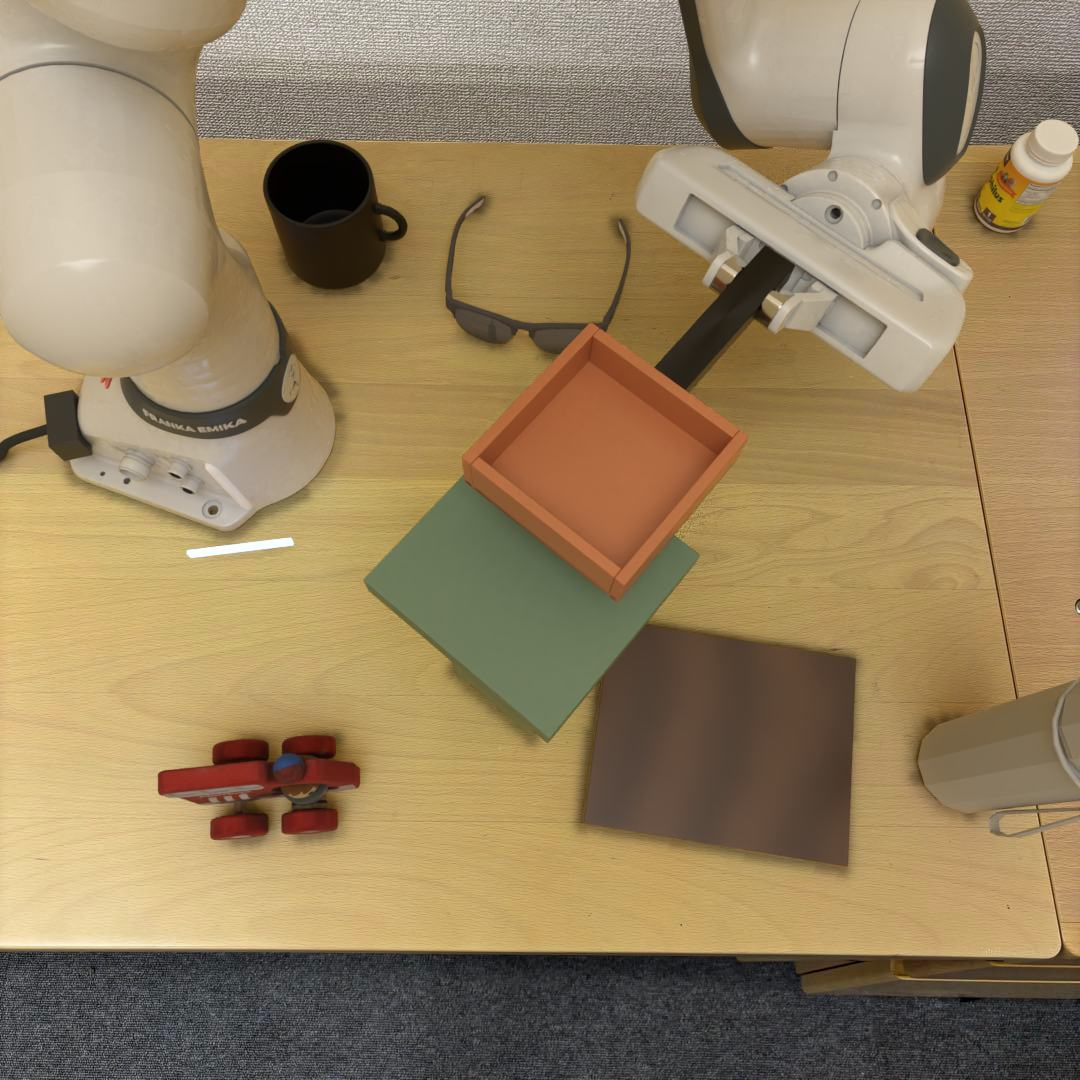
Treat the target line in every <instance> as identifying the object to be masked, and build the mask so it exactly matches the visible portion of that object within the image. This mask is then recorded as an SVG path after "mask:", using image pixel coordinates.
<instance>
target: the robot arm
mask: <svg viewBox="0 0 1080 1080" xmlns="http://www.w3.org/2000/svg"><path fill="white" fill-rule="evenodd" d="M677 2H678V7H679V12H680V17H681V20H682V25H683V30H684V35H685V38H686V44H687V49H688V63H689V64H688V65H689V68H688V69H689V87H690V89H689V90H690V98H691V105H692V108H693V112H694V115H695V117H696V118H697V119H698V120H697V121H698V122H699V123H700V125H701V126H702V128H703V129H704V130H705V132H706V133H707V134H708V135H709V137H710V138H711V139H712V140H713V141H714V142H715V143H716V144H717V145H718V146H719V147H721V148H722V149H721V148H718V147H716V146H712V145H708V144H688V145H687V144H686V145H679V146H672V147H668V148H663V149H660V150H658V151H656V152H655V153H654V154H653V155H652V156H651V158H650V160H649V161H648V163H647V165H646V166H645V169H644V171H643V173H642V175H641V177H640V179H639V182H638V184H637V186H636V189H635V192H634V195H633V203H634V208H635V211H636V213H637V214H638V215H640V216H641V217H642V218H643V219H645V220H646V221H647V222H649V223H650V224H653V225H654V226H655V227H657V228H658V229H659V230H661V231H663V232H664V233H665V234H667V235H668V236H670V237H671V238H672V239H674V240H675V241H677V243H678V242H679V243H680V244H681V245H682V246H683V247H685V248H687V249H688V250H690V251H691V252H693V253H694V254H696V255H697V256H699V257H700V258H701V259H702V260H704V261H706V262H707V263H708V269H707V271H706V273H705V275H704V276H703V278H702V281H701V284H702V285H703V286H704V287H706V288H707V289H709V290H711V291H712V292H713V293H715V294H717V295H718V296H719V295H720V294H721V293H722V292H723V291H724V290H725V289H726V288H727V286H728V285H729V284H730V283H731V282H732V281H733V280H734V279H735V278H736V277H737V276H738V275H739V274H740V272H741V271H742V270H743V269H744V268H745V267H746V265H747V264H748V263H749V262H750V261H751V260H752V259H753V258H754V257H755V256H756V254H757V253H758V252H759V251H760V250H761V249H762V248H763V247H764V246H765V245H766V246H768V247H769V248H771V249H772V250H774V251H775V252H777V253H778V254H779V255H781V256H782V257H784V258H785V259H787V260H788V261H790V262H791V263H793V264H794V265H795V268H794V270H793V272H792V274H791V276H790V278H789V280H788V282H787V283H786V284H785V285H784V286H783V287H782V286H781V285H780V286H778V287H777V288H775V290H772V291H771V292H770V293H769V294H768V295H767V296H766V298H765V299H764V301H763V302H762V304H761V309H759V310H758V311H757V313H756V314H755V316H754V318H753V319H754V320H753V321H755V322H757V323H758V324H759V325H761V327H763V328H765V330H768V331H769V332H770V333H772V334H773V335H777V334H778V333H780V331H781V330H783V329H784V328H785V329H789V330H797V331H804V332H809V333H810V334H811V335H813V336H814V337H815V338H817V339H818V340H820V341H822V342H823V343H824V344H826V345H827V346H829V347H830V348H832V349H833V350H835V351H836V352H837V353H839V354H840V355H842V356H843V357H845V358H846V359H847V360H849V361H850V362H852V363H853V364H855V365H856V366H857V367H858V368H860V369H862V370H863V371H864V372H867V373H868V374H869V375H871V376H872V377H873V378H875V379H877V380H878V381H879V382H881V383H882V384H883V385H885V386H887V387H888V388H889V389H891V390H892V391H895V392H896V393H901V394H907V395H908V394H909V395H913V394H915V393H916V392H917V391H918V390H919V389H920V388H921V387H922V386H923V385H924V383H926V381H927V380H928V379H929V377H930V376H931V375H932V374H933V373H934V372H935V370H936V369H937V368H938V367H939V365H940V364H941V363H942V362H943V360H944V359H945V357H947V355H948V354H949V353H950V351H951V349H952V348H953V347H954V345H955V343H956V341H957V340H958V338H959V336H960V333H961V331H962V328H963V325H964V323H965V318H966V314H967V305H966V301H965V298H964V296H963V295H964V294H965V292H966V290H967V289H968V287H969V285H970V284H971V282H972V280H973V279H974V276H975V275H974V271H973V270H972V268H971V266H970V265H969V264H967V263H966V262H965V261H964V260H963V259H961V257H960V256H959V255H958V254H957V253H955V251H953V249H951V248H950V247H949V246H948V245H946V244H945V243H944V241H942V240H941V239H940V238H939V237H938V236H937V235H936V234H934V232H932V231H933V230H934V227H935V225H936V223H937V221H938V218H939V217H940V214H941V211H942V208H943V204H944V200H945V196H946V195H945V194H946V189H947V174H948V173H949V172H950V171H951V170H952V169H953V168H954V167H955V165H956V164H957V163H958V162H959V161H960V160H961V159H962V158H963V156H964V155H965V154H966V152H967V150H968V148H969V145H970V143H971V140H972V137H973V135H974V131H975V128H976V124H977V121H978V117H979V113H980V110H981V104H982V100H983V95H984V89H985V82H986V73H987V72H986V71H987V43H986V37H985V32H984V30H983V28H982V25H981V23H980V21H979V19H978V16H977V15H976V13H975V11H974V10H973V8H972V6H971V4H970V2H969V1H968V0H677ZM247 5H248V0H0V319H1V321H2V324H3V326H4V329H5V330H6V332H7V333H8V335H9V336H10V337H11V339H12V340H13V341H15V342H16V344H18V345H19V346H20V347H21V348H23V349H24V350H26V351H27V352H28V353H30V354H32V355H33V356H35V357H36V358H37V359H40V360H42V361H43V362H46V363H48V364H50V365H52V366H54V367H57V368H59V369H61V370H65V371H68V372H70V373H73V374H78V375H83V376H84V377H83V380H82V383H81V386H80V391H79V394H77V392H76V391H75V390H73V389H69V390H64V391H59V392H55V393H54V392H53V393H48V394H44V395H43V402H44V416H45V424H42V425H39V426H36V427H32V428H30V429H25V430H23V431H20V432H17V433H15V434H13V435H10V436H8V437H6V438H4V439H3V440H1V441H0V462H1V461H3V460H5V459H6V458H7V456H8V454H9V451H10V450H11V449H12V448H14V447H16V446H18V445H21V444H23V443H25V442H28V441H31V440H36V439H38V438H41V437H44V436H47V444H48V445H47V446H48V448H49V449H50V450H51V451H52V452H53V453H54V454H55V455H57V457H59V458H60V459H61V460H62V461H64V462H68V461H69V464H70V466H71V470H72V472H73V473H74V475H75V476H76V477H77V478H78V479H80V480H82V481H83V482H87V483H89V484H91V485H94V486H97V487H100V488H103V489H104V490H108V491H111V492H113V493H116V494H119V495H122V496H124V497H127V498H129V499H133V500H135V501H138V502H141V503H144V504H147V505H149V506H152V507H154V508H157V509H159V510H163V511H166V512H168V513H171V514H173V515H176V516H179V517H181V518H185V519H187V520H191V521H193V522H195V523H198V524H201V525H204V526H207V527H209V528H211V529H214V530H218V531H221V532H225V533H226V532H232V531H235V530H237V529H239V528H240V527H241V526H243V525H244V524H245V523H247V521H248V520H250V519H251V518H252V517H253V516H254V515H255V514H256V513H257V512H259V510H262V509H264V508H265V507H268V506H270V505H273V504H276V503H279V502H280V501H283V500H285V499H287V498H290V497H291V496H293V495H294V494H296V493H297V492H299V491H300V490H302V489H303V488H305V487H306V486H307V485H308V484H310V483H311V482H312V481H313V479H315V477H316V476H317V475H318V474H319V473H320V471H321V470H322V469H323V467H324V465H325V464H326V462H327V460H328V459H329V457H330V454H331V451H332V449H333V446H334V443H335V439H336V428H337V427H336V426H337V425H336V424H337V423H336V415H335V410H334V407H333V404H332V402H331V398H330V397H329V395H328V393H327V391H326V390H325V389H324V387H323V386H322V385H321V384H320V383H319V381H317V379H316V378H315V377H313V376H312V375H311V374H310V372H309V371H308V369H306V367H305V366H304V365H303V364H302V363H301V361H300V360H299V358H298V356H297V354H296V350H295V348H294V345H293V342H292V340H291V337H290V335H289V332H288V330H287V327H286V326H285V324H284V322H283V320H282V318H281V316H280V314H279V312H278V310H277V309H276V307H275V306H274V305H273V304H272V302H270V301H271V300H269V299H267V296H266V294H265V292H264V289H263V287H262V284H261V282H260V279H259V277H258V275H257V272H256V270H255V268H254V266H253V263H252V260H251V259H250V256H249V253H248V252H247V250H246V248H245V247H244V246H243V244H242V243H241V242H240V241H239V240H238V239H237V238H236V237H235V236H234V235H233V234H231V233H230V232H229V231H227V230H226V229H225V228H223V227H221V226H220V225H218V224H217V221H216V218H215V213H214V210H213V207H212V202H211V198H210V193H209V189H208V185H207V180H206V176H205V171H204V166H203V162H202V157H201V148H200V139H199V132H198V121H197V120H198V118H197V101H196V100H197V99H196V90H197V89H196V88H197V87H196V85H197V72H198V65H199V61H200V58H201V57H200V56H201V54H202V51H203V49H204V47H205V45H208V44H210V43H211V44H212V43H213V42H215V41H217V40H219V39H220V38H222V37H223V36H225V35H227V33H229V32H230V31H231V29H233V27H235V26H236V24H237V23H238V22H239V21H240V19H241V17H242V15H243V14H244V12H245V10H246V7H247ZM774 148H779V149H795V150H796V149H797V150H815V151H817V150H818V151H830V152H829V154H828V156H827V157H826V158H825V159H824V160H823V161H821V162H819V163H817V164H814V166H812V167H809V168H808V169H805V170H803V171H802V172H800V173H797V174H795V175H793V176H792V177H789V178H788V179H787V180H785V181H784V182H782V183H781V184H780V185H779V184H777V183H775V182H774V181H772V180H770V179H769V178H768V177H766V176H764V175H763V174H761V173H760V172H758V171H757V170H755V168H752V167H751V166H749V165H747V163H745V162H743V160H740V159H739V158H737V157H735V156H734V155H732V154H730V153H729V152H727V151H744V150H746V151H747V150H768V149H774ZM723 149H724V150H723ZM725 150H727V151H725ZM215 509H216V510H217V512H216V513H215V514H211V512H212V511H213V510H215ZM289 546H294V541H293V538H292V537H285V538H277V539H269V540H261V541H251V542H244V543H236V544H228V545H227V544H226V545H221V546H220V545H219V546H212V547H205V548H203V547H202V548H196V549H188V550H186V555H187V556H188V557H189V558H191V559H193V558H200V557H207V556H208V557H209V556H217V555H226V554H234V553H242V552H249V551H258V550H265V549H266V550H267V549H274V548H282V547H289Z"/></svg>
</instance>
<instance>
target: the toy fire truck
mask: <svg viewBox="0 0 1080 1080" xmlns="http://www.w3.org/2000/svg"><path fill="white" fill-rule="evenodd" d="M211 751H212V757H211V761H212V762H211V763H212V765H203V766H202V765H201V766H194V767H183V768H174V769H173V768H172V769H164V770H161V771H159V772H158V773H157V793H158V795H159V796H161V797H164V798H169V799H181V800H185V801H187V802H190V803H194V804H196V805H199V806H210V805H223V804H233V810H232V811H233V812H232V813H233V814H228V815H220V816H216V817H214V818H212V819H211V820H210V822H209V827H210V829H209V836H210V839H211V840H213V841H230V840H241V839H242V840H243V839H249V838H257V837H263V836H266V835H267V834H269V829H270V827H269V826H270V825H269V824H270V823H269V822H270V821H269V814H268V813H265V812H247V811H248V810H247V809H248V808H247V807H248V805H247V804H248V802H250V801H260V800H269V799H277V798H278V799H279V798H286V799H287V800H288V801H289V802H291V809H292V810H291V811H288V812H287V811H286V812H284V813H282V814H281V819H280V821H281V826H280V827H281V828H280V829H281V833H282V834H283V835H287V836H288V835H289V836H290V835H292V836H293V835H294V836H295V835H311V834H319V833H328V832H334V831H336V830H337V829H338V827H339V812H338V810H337V809H336V808H332V807H329V808H328V806H327V805H328V803H329V802H328V799H327V795H326V793H334V792H342V791H351V790H357V789H358V788H359V787H360V785H361V768H360V766H358V765H357V764H356V763H354V761H353V762H352V761H344V760H337V759H333V758H335V757H336V755H337V740H336V738H335V737H334V736H332V735H326V734H305V735H304V734H303V735H295V736H291V737H288V738H285V739H284V740H283V741H282V742H281V755H280V756H278V757H277V758H276V760H275V761H269V759H270V743H269V742H268V741H266V740H264V739H258V738H239V739H232V740H231V739H230V740H224V741H220V742H217V743H215V744H214V745H213V746H212V750H211Z"/></svg>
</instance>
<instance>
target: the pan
mask: <svg viewBox="0 0 1080 1080" xmlns="http://www.w3.org/2000/svg"><path fill="white" fill-rule="evenodd" d="M794 268H795V265H794V264H793V263H791V262H790V261H788V260H787V259H785V258H784V257H782V256H781V255H779V254H778V253H777V252H775V251H774V250H772V249H771V248H769V247H768V246H766V245H765V246H764V247H763V248H762V249H761V250H760V251H759V252H758V253H757V254H756V256H755V257H754V258H753V259H752V260H751V261H750V262H749V263H748V264H747V265H746V267H745V268H744V269H743V270H742V271H741V272H740V274H739V275H738V276H737V277H736V278H735V279H734V280H733V281H732V282H731V283H730V284H729V285H728V286H727V288H726V289H725V290H724V291H723V292H722V293H721V294H720V295H718V296H717V297H716V299H714V301H713V302H712V303H711V304H709V306H708V307H707V308H706V309H705V311H704V312H703V313H701V315H700V316H698V318H697V319H696V321H694V322H693V324H692V325H691V326H690V327H689V328H688V329H687V330H686V331H685V332H684V334H683V335H681V337H680V338H679V339H678V340H677V342H676V343H675V344H674V345H673V346H672V347H671V348H670V349H669V350H668V351H667V352H666V353H665V354H664V355H663V357H661V359H660V360H659V361H658V362H657V363H656V364H655V365H654V366H652V364H650V363H648V362H647V361H646V360H645V359H643V358H642V357H640V356H639V355H637V354H636V353H635V352H633V350H630V349H629V348H628V347H626V346H625V345H623V344H622V343H621V342H619V341H618V340H617V339H615V338H614V337H612V335H610V334H608V333H607V332H604V331H603V330H601V329H599V328H598V327H597V326H596V325H594V324H593V323H594V322H588V323H589V324H588V325H587V326H586V327H585V329H584V330H583V331H582V332H581V333H580V334H579V335H578V336H577V337H576V338H575V339H574V340H573V341H572V342H571V343H570V344H569V345H568V346H567V347H566V348H565V349H564V350H563V352H562V353H561V354H558V356H557V357H556V358H555V359H554V360H553V361H551V363H550V364H549V365H548V366H547V367H546V368H545V369H544V370H543V371H542V372H541V373H540V374H539V376H537V378H535V380H534V381H532V383H531V384H530V385H529V386H528V387H527V388H526V389H525V390H524V391H523V393H521V394H520V395H519V396H518V397H517V398H516V399H515V400H514V401H513V402H512V404H511V405H510V406H509V407H508V408H507V409H506V410H505V411H504V412H503V413H502V414H501V415H500V416H499V417H498V418H497V420H495V422H493V424H491V426H490V427H489V428H488V429H487V430H486V431H484V433H483V434H482V435H481V436H480V437H479V438H478V439H477V440H476V441H475V443H473V445H472V446H470V448H469V449H468V450H466V452H465V453H464V454H463V455H462V456H461V464H462V472H463V475H464V480H465V482H466V483H467V484H468V485H470V486H471V487H472V488H473V489H475V490H476V491H477V492H478V493H480V494H481V495H482V496H483V497H485V498H486V499H487V500H488V501H490V502H491V503H492V504H493V505H495V506H496V507H497V508H498V509H500V510H501V511H502V512H504V513H505V514H506V515H507V516H509V517H510V518H511V519H512V520H514V521H515V522H516V523H517V524H519V525H520V526H521V527H522V528H524V529H525V530H526V531H527V532H529V533H530V534H531V535H532V536H534V537H535V538H536V539H538V540H539V541H540V542H541V543H543V544H544V545H545V546H546V547H548V548H549V549H550V550H551V551H553V552H554V553H555V554H556V555H558V556H559V557H560V558H561V559H563V560H564V561H565V562H566V563H568V564H569V565H570V566H572V567H573V568H574V569H575V570H577V571H578V572H579V573H580V574H582V575H583V576H584V577H585V578H587V579H588V580H589V581H590V582H592V583H593V584H594V585H595V586H597V587H598V588H599V589H600V590H602V591H603V592H604V593H606V594H607V595H608V596H609V597H611V598H612V599H613V600H614V601H616V602H617V603H618V602H619V601H620V600H621V599H622V597H623V596H624V595H625V594H626V593H627V591H628V590H629V589H630V588H631V587H632V585H633V584H634V583H635V582H636V581H637V579H638V578H639V577H640V576H641V575H642V573H643V572H644V571H645V570H646V569H647V567H648V566H649V565H650V564H651V563H652V561H653V560H654V559H655V558H656V557H657V555H658V554H659V553H660V552H661V551H662V549H663V548H664V547H665V546H666V545H667V543H668V542H669V541H670V540H671V539H672V538H673V536H674V535H675V536H676V534H677V533H678V531H679V530H680V529H681V528H682V527H683V526H684V525H685V523H687V522H688V520H689V519H690V518H691V516H692V515H693V514H694V512H695V511H697V509H698V508H699V507H700V505H701V504H702V503H703V502H704V501H705V500H706V498H707V497H708V496H709V495H710V493H711V492H712V491H713V490H714V489H715V487H716V486H717V485H718V484H719V483H720V481H721V480H722V479H723V478H724V477H725V475H726V474H728V472H729V471H730V470H731V468H732V467H733V466H734V465H735V463H736V462H737V460H738V459H739V458H740V457H739V456H740V455H741V453H742V452H743V449H744V447H745V446H746V444H747V443H748V440H749V439H750V435H748V434H747V433H745V432H744V431H743V430H741V429H740V428H738V427H737V426H736V425H734V424H733V423H732V422H730V421H729V420H728V419H726V418H724V417H723V416H722V415H721V414H719V413H718V412H716V411H715V410H714V409H712V408H711V407H710V406H708V405H707V404H705V403H704V402H702V401H701V400H699V399H698V398H697V397H696V396H694V395H693V394H692V393H691V392H692V391H693V390H694V388H695V387H697V385H698V384H699V383H700V382H701V380H703V378H704V377H705V376H706V375H707V374H708V373H709V371H711V370H712V368H713V367H714V366H715V365H716V364H717V363H718V361H720V359H721V358H722V357H723V356H724V355H725V353H726V352H727V351H728V350H729V349H730V348H731V346H732V345H733V344H734V343H735V342H736V341H737V340H738V338H739V337H740V336H741V335H742V334H743V333H744V332H745V331H746V330H747V328H748V327H749V326H750V325H751V324H752V323H753V321H755V320H754V319H753V318H754V316H755V314H756V313H757V311H758V310H759V309H761V304H762V302H763V301H764V299H765V298H766V296H767V295H768V294H769V293H770V292H771V291H772V290H775V288H777V287H778V286H780V285H781V286H782V287H783V286H784V285H785V284H786V283H787V282H788V280H789V278H790V276H791V274H792V272H793V270H794Z"/></svg>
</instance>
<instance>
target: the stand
mask: <svg viewBox="0 0 1080 1080" xmlns="http://www.w3.org/2000/svg"><path fill="white" fill-rule="evenodd" d="M700 557H701V554H700V553H699V552H698V551H696V550H695V549H694V548H692V547H691V546H690V545H688V544H687V543H686V542H685V541H683V540H682V539H681V538H679V536H677V535H676V534H675V535H674V536H673V538H672V539H671V540H670V541H669V542H668V543H667V545H666V546H665V547H664V548H663V549H662V551H661V552H660V553H659V554H658V555H657V557H656V558H655V559H654V560H653V561H652V563H651V564H650V565H649V566H648V567H647V569H646V570H645V571H644V572H643V573H642V575H641V576H640V577H639V578H638V579H637V581H636V582H635V583H634V584H633V585H632V587H631V588H630V589H629V590H628V591H627V593H626V594H625V595H624V596H623V597H622V599H621V600H620V601H619V602H618V603H617V602H616V601H614V600H613V599H612V598H611V597H609V596H608V595H607V594H606V593H604V592H603V591H602V590H600V589H599V588H598V587H597V586H595V585H594V584H593V583H592V582H590V581H589V580H588V579H587V578H585V577H584V576H583V575H582V574H580V573H579V572H578V571H577V570H575V569H574V568H573V567H572V566H570V565H569V564H568V563H566V562H565V561H564V560H563V559H561V558H560V557H559V556H558V555H556V554H555V553H554V552H553V551H551V550H550V549H549V548H548V547H546V546H545V545H544V544H543V543H541V542H540V541H539V540H538V539H536V538H535V537H534V536H532V535H531V534H530V533H529V532H527V531H526V530H525V529H524V528H522V527H521V526H520V525H519V524H517V523H516V522H515V521H514V520H512V519H511V518H510V517H509V516H507V515H506V514H505V513H504V512H502V511H501V510H500V509H498V508H497V507H496V506H495V505H493V504H492V503H491V502H490V501H488V500H487V499H486V498H485V497H483V496H482V495H481V494H480V493H478V492H477V491H476V490H475V489H473V488H472V487H471V486H470V485H468V484H467V483H466V482H465V480H464V474H463V475H461V477H460V478H459V479H458V480H456V482H455V483H454V484H453V485H452V486H451V487H450V488H449V489H448V490H447V491H446V492H445V493H444V494H443V496H442V497H440V499H439V500H438V501H436V503H434V505H433V506H432V507H431V508H430V509H429V510H428V511H427V512H426V513H425V514H424V515H423V517H421V519H420V520H419V521H418V522H417V523H416V524H415V525H414V526H413V527H412V528H411V529H410V530H409V531H408V532H407V533H406V534H405V535H404V536H403V537H402V538H401V539H400V541H398V542H397V543H396V545H395V546H394V547H393V548H392V549H391V550H390V551H389V552H388V553H387V554H386V555H385V556H384V557H383V558H382V559H381V560H380V562H378V563H377V565H376V566H375V567H374V568H373V569H372V570H371V571H370V572H369V573H368V574H367V575H365V577H364V578H363V582H364V585H365V587H366V589H367V590H368V592H369V593H371V594H372V595H373V596H374V597H375V598H376V599H378V601H380V602H381V603H382V604H383V605H384V606H386V607H387V608H388V609H389V610H390V611H392V613H394V615H396V616H397V617H399V618H400V619H401V620H402V621H403V622H405V624H406V625H408V626H409V627H410V628H411V629H412V630H414V632H416V633H418V635H420V636H421V637H422V638H423V639H424V640H426V641H427V642H428V643H429V644H430V645H431V646H433V647H434V648H435V649H436V650H437V651H439V652H440V653H441V654H442V655H443V656H444V657H446V658H447V659H448V660H449V661H450V662H451V663H452V666H453V670H454V672H455V674H457V675H458V676H459V677H460V678H461V679H463V680H464V681H465V682H466V683H467V684H468V685H470V686H471V687H472V688H473V689H474V690H475V691H477V692H478V693H479V694H480V695H482V697H484V698H485V699H486V700H487V701H488V702H490V704H492V705H493V706H494V707H495V708H497V709H498V711H500V712H501V713H502V714H504V715H505V716H506V717H507V718H508V719H509V720H510V721H512V722H513V724H515V725H516V726H517V727H518V728H520V729H521V730H522V731H523V732H525V733H526V734H527V735H528V736H529V737H531V736H532V735H533V734H536V736H538V737H539V738H541V739H542V740H543V742H545V743H546V744H549V743H550V742H551V741H552V739H553V738H554V737H555V735H556V734H557V733H558V732H559V731H560V730H561V728H562V727H563V726H564V725H565V723H566V722H567V721H568V720H569V718H571V716H572V715H573V714H574V712H575V711H576V710H577V709H578V708H579V706H581V704H582V703H583V701H585V700H586V698H587V697H588V695H589V694H590V693H591V692H592V691H593V689H594V688H595V687H596V685H597V684H598V683H600V682H601V678H602V677H603V676H604V675H605V673H606V672H607V671H608V670H609V669H610V667H611V666H612V665H613V664H614V662H615V661H616V660H617V659H618V658H619V656H620V655H621V654H622V653H623V651H624V650H625V649H626V648H627V647H628V645H629V644H630V643H631V642H632V640H633V639H634V638H635V637H636V636H637V634H638V633H639V632H640V631H641V630H642V628H643V627H644V626H645V625H647V624H648V623H649V621H650V620H651V619H652V617H653V616H654V615H655V614H656V612H658V610H659V609H660V608H661V607H662V605H663V604H664V603H665V602H666V600H667V599H668V598H669V597H670V596H671V594H672V593H673V592H674V591H675V589H676V588H677V587H678V586H679V585H680V583H681V582H682V581H683V579H685V577H686V576H687V575H688V573H689V572H691V570H692V569H693V567H694V566H695V565H696V563H697V562H698V560H699V558H700Z"/></svg>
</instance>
